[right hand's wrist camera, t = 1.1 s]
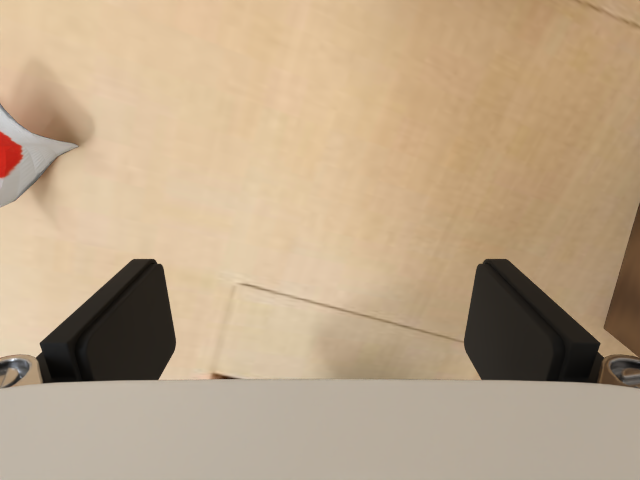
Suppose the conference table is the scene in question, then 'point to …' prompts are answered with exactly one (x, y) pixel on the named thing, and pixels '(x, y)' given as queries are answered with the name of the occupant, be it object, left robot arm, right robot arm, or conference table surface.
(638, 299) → the bar
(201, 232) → the conference table surface
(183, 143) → the conference table surface
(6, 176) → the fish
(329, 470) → the right robot arm
